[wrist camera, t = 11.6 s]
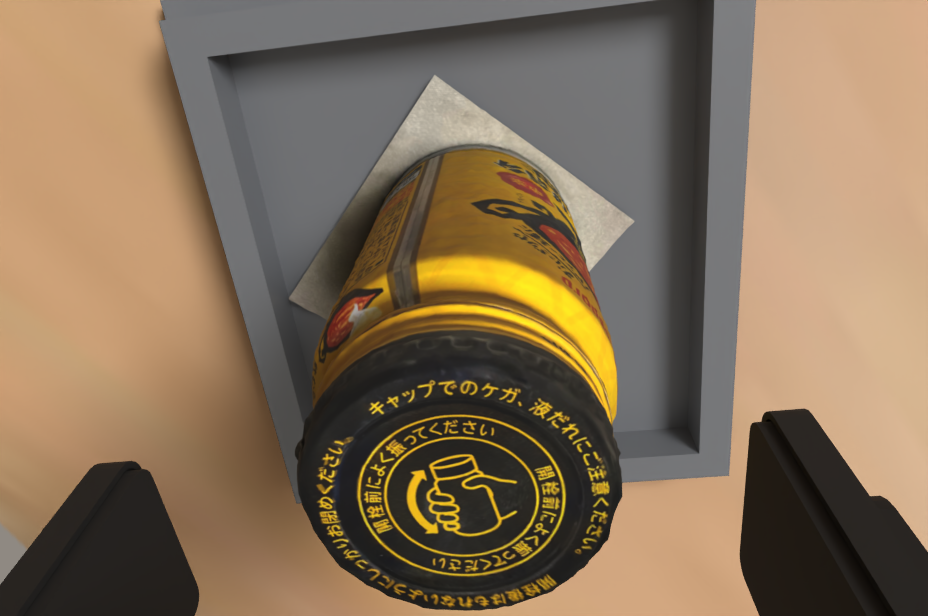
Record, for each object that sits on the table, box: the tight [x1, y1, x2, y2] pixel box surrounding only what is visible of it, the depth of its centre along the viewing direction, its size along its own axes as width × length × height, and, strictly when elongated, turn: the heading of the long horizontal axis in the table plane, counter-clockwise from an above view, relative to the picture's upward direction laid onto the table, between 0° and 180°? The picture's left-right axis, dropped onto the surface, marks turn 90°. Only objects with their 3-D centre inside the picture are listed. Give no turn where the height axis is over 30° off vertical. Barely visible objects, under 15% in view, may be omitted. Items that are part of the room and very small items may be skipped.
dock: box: [159, 0, 756, 503], centre depth 21 cm, size 17×16×2 cm
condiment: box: [289, 75, 634, 610], centre depth 16 cm, size 7×8×12 cm
